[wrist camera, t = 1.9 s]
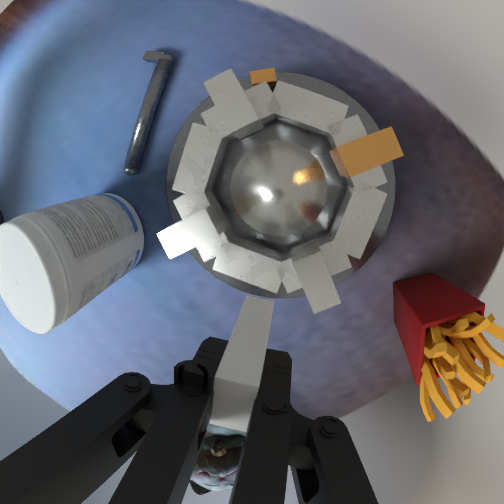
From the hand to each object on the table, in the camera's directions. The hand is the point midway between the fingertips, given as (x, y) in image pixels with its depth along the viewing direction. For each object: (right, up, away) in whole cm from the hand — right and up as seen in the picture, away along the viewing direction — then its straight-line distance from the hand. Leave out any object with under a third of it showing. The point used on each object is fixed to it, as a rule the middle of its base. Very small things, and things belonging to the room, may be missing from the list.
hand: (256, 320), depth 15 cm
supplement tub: (-16, +6, +15) cm, 22 cm away
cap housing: (+2, +10, +11) cm, 15 cm away
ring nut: (+2, +9, +8) cm, 12 cm away
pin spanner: (-11, +18, +10) cm, 23 cm away
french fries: (+18, -2, +12) cm, 22 cm away
